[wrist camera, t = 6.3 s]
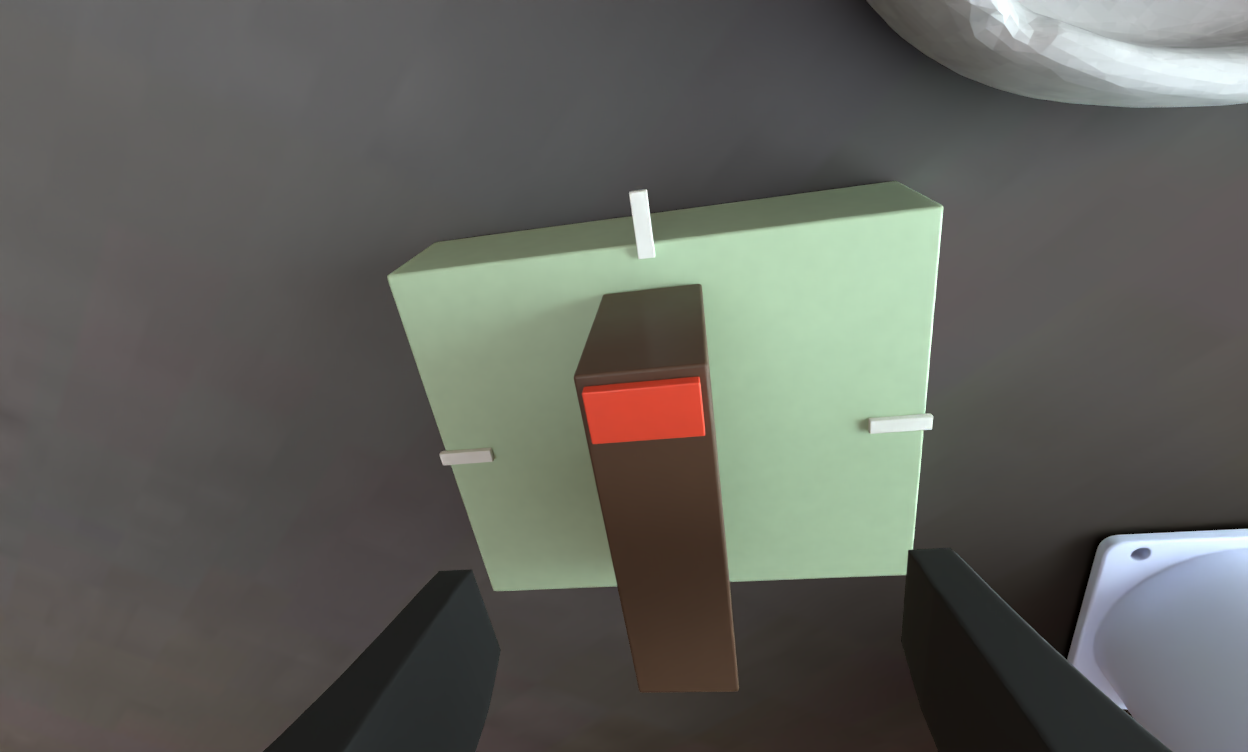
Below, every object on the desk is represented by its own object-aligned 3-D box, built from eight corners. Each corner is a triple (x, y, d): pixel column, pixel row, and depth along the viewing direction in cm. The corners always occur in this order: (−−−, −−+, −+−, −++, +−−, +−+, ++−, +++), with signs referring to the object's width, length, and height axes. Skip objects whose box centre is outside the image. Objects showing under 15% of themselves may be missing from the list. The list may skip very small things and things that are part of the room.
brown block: (727, 558, 16) (740, 703, 13) (648, 561, 17) (638, 704, 13) (701, 282, 13) (709, 370, 9) (602, 293, 13) (569, 382, 9)
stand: (904, 131, 14) (959, 146, 11) (881, 531, 19) (915, 609, 16) (418, 201, 16) (360, 229, 13) (522, 548, 21) (497, 622, 18)
